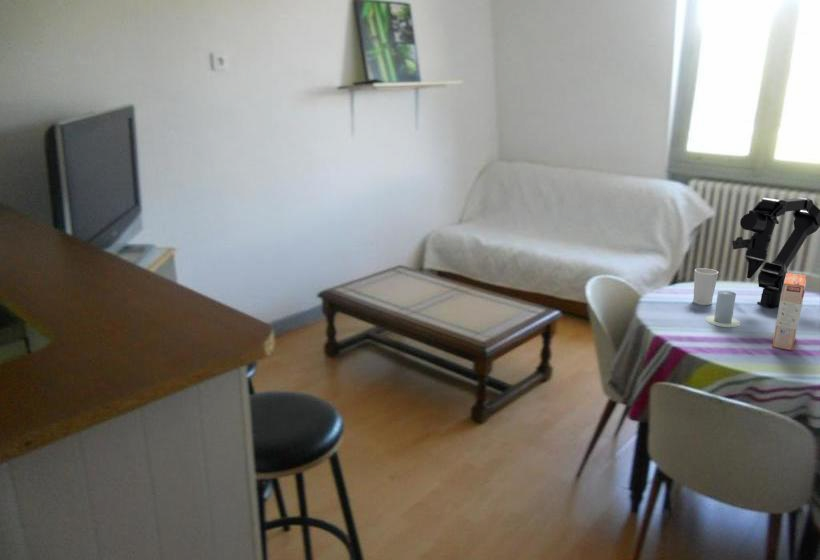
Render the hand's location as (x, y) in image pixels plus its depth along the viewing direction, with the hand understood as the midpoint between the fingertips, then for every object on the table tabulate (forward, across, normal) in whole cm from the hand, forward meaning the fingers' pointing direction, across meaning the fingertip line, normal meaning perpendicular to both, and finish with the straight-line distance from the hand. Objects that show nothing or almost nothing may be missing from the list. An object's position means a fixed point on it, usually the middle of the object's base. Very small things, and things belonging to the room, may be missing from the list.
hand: (748, 277), depth 229 cm
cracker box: (+16, +22, +15) cm, 31 cm away
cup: (+13, -8, -12) cm, 20 cm away
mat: (+16, +11, -4) cm, 20 cm away
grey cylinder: (+16, +10, -4) cm, 19 cm away
